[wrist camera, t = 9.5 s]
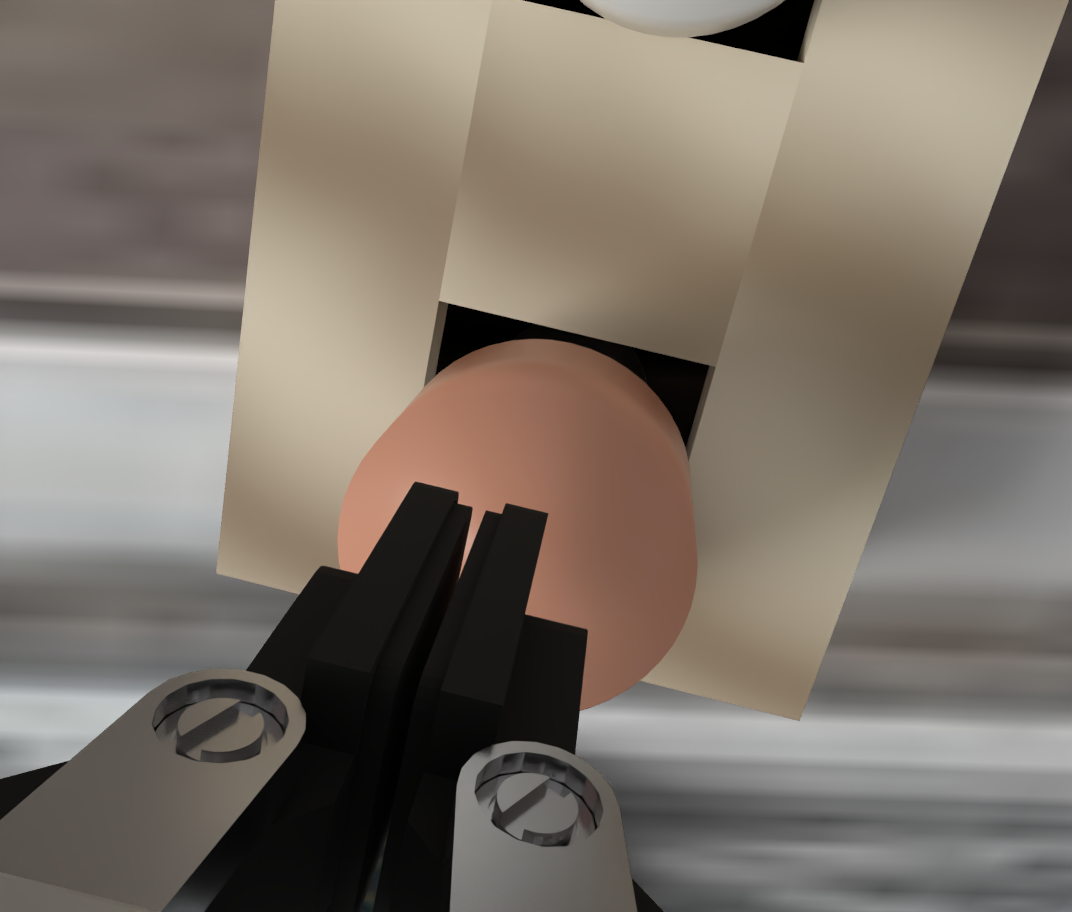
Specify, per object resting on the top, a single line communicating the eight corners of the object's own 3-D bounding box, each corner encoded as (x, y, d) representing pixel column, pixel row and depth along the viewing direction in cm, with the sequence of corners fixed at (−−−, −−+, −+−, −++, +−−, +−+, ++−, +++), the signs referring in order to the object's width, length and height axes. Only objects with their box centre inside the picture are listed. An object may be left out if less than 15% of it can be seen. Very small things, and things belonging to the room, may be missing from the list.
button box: (444, -345, 19) (335, -582, 13) (1025, -223, 19) (1221, -407, 12) (329, 457, 26) (216, 573, 19) (763, 564, 25) (799, 720, 19)
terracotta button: (481, 257, 21) (365, 347, 13) (709, 310, 21) (743, 438, 13) (441, 468, 23) (316, 669, 15) (650, 520, 23) (645, 754, 14)
